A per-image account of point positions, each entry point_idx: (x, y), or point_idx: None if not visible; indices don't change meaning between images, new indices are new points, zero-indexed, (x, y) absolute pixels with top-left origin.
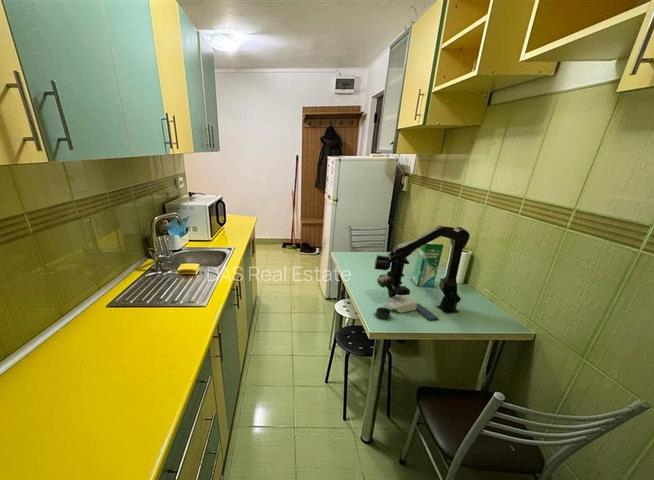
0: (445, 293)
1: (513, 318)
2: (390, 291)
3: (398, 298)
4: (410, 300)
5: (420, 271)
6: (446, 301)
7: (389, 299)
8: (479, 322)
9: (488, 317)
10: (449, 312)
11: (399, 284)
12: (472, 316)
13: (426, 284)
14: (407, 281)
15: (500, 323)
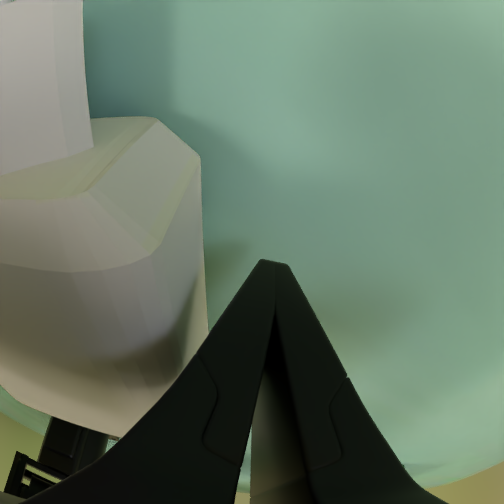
0: (20, 494)
1: None
2: (220, 468)
3: (41, 347)
4: (17, 388)
5: None
6: (44, 453)
7: (91, 186)
8: (2, 394)
9: (43, 425)
10: None
11: None
12: (38, 413)
13: None
14: (413, 455)
15: (15, 413)
